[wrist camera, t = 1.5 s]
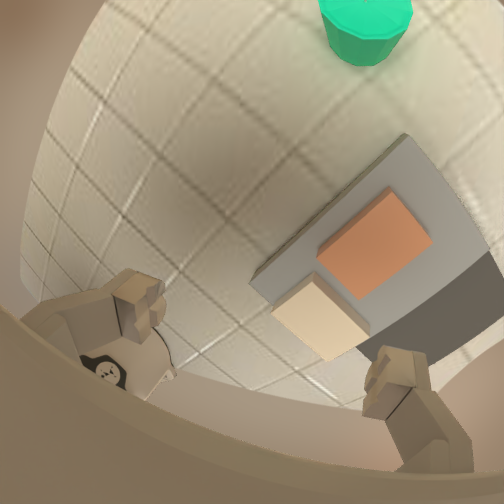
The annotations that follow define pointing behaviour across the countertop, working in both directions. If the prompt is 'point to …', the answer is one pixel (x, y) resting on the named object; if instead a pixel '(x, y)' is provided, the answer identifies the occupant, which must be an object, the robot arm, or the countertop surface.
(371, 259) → the terracotta tile
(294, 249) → the platform
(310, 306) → the cream tile
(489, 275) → the mat
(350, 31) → the candle
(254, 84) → the countertop surface
